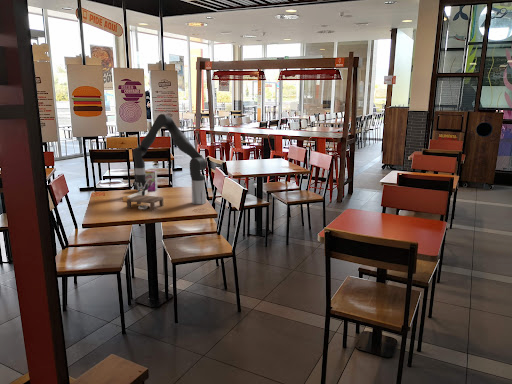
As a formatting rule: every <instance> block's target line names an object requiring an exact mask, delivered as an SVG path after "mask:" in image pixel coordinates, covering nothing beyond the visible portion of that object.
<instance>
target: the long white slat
mask: <svg viewBox="0 0 512 384" xmlns="http://www.w3.org/2000/svg"><path fill="white" fill-rule="evenodd" d="M148 194H149V191H148V190H145V195H144V196H148ZM137 195H142V190H141V191H140V192H138V191H137V192H135V193H132V194H130V195H127V196H126V197H122V202H127V199H129V198H132V197H134V196H137Z"/></svg>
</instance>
